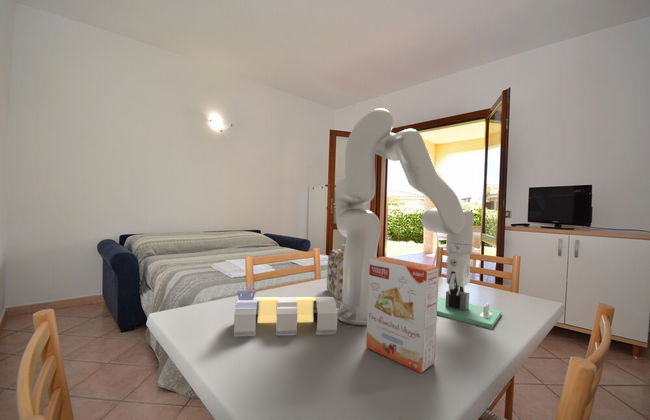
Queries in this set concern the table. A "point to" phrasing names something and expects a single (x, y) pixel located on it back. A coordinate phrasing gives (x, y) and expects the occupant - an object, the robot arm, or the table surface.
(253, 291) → the white and yellow block
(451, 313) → the board
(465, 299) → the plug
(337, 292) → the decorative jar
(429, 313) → the cracker box
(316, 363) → the table surface
